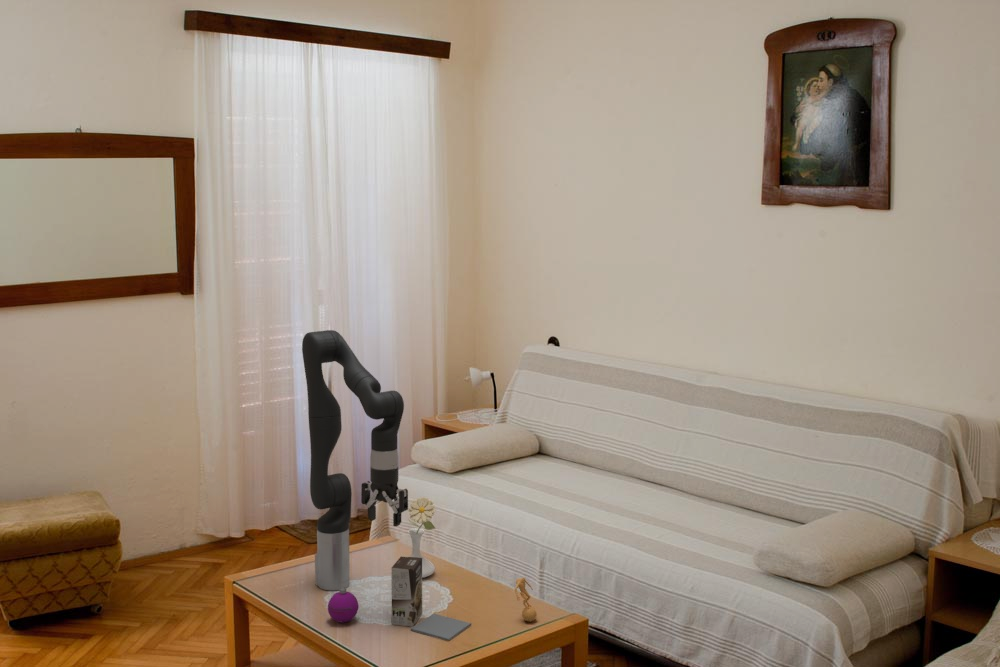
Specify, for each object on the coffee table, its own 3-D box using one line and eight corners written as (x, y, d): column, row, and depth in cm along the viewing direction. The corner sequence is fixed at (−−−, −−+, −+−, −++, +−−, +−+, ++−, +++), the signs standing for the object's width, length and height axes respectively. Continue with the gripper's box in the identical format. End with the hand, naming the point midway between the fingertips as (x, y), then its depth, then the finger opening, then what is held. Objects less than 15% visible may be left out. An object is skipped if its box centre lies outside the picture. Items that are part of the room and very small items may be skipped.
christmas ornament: (362, 616, 275) (362, 581, 273) (352, 628, 267) (351, 593, 265) (334, 613, 276) (334, 578, 275) (323, 626, 268) (322, 590, 267)
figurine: (528, 628, 268) (529, 585, 266) (508, 623, 271) (509, 581, 269) (542, 616, 275) (543, 575, 273) (523, 612, 278) (523, 570, 276)
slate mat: (410, 630, 266) (410, 628, 266) (433, 615, 275) (433, 613, 275) (448, 641, 260) (448, 638, 260) (471, 625, 269) (471, 623, 269)
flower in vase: (389, 576, 303) (388, 496, 299) (413, 564, 312) (413, 487, 308) (423, 586, 295) (422, 504, 292) (446, 574, 305) (447, 494, 301)
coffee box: (413, 627, 268) (413, 569, 266) (390, 624, 269) (390, 567, 267) (423, 613, 277) (423, 557, 275) (400, 611, 278) (400, 555, 276)
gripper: (354, 463, 271) (355, 522, 273) (397, 472, 264) (398, 531, 266) (371, 457, 277) (371, 514, 280) (414, 465, 270) (414, 523, 273)
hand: (384, 522), depth 273 cm, fingers open, 7 cm apart
